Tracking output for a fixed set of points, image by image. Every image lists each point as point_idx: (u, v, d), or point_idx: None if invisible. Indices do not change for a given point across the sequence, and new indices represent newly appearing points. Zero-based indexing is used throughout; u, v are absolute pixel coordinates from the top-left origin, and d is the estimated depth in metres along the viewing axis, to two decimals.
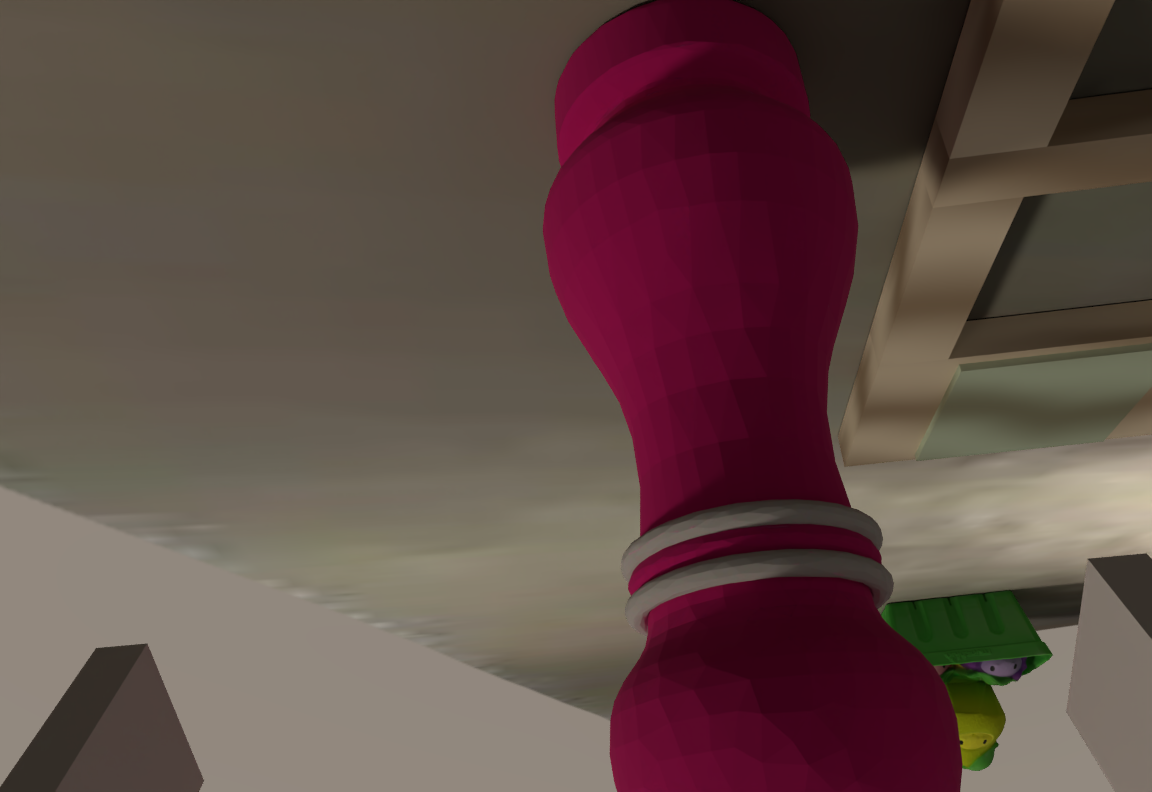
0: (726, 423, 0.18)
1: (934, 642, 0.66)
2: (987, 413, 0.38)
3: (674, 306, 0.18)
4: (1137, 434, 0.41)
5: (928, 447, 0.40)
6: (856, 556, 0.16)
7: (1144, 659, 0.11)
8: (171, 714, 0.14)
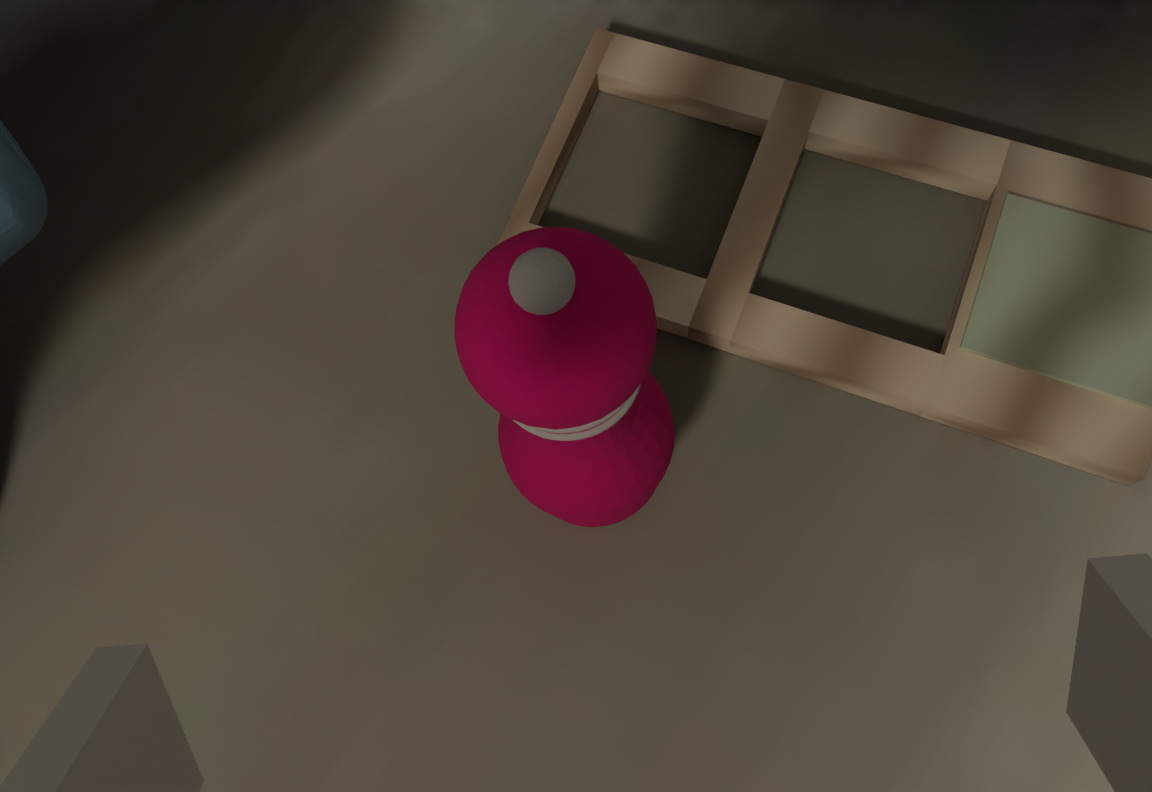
0: None
1: None
2: (1062, 334, 0.41)
3: None
4: None
5: (1120, 391, 0.40)
6: None
7: (1143, 659, 0.11)
8: (171, 714, 0.14)
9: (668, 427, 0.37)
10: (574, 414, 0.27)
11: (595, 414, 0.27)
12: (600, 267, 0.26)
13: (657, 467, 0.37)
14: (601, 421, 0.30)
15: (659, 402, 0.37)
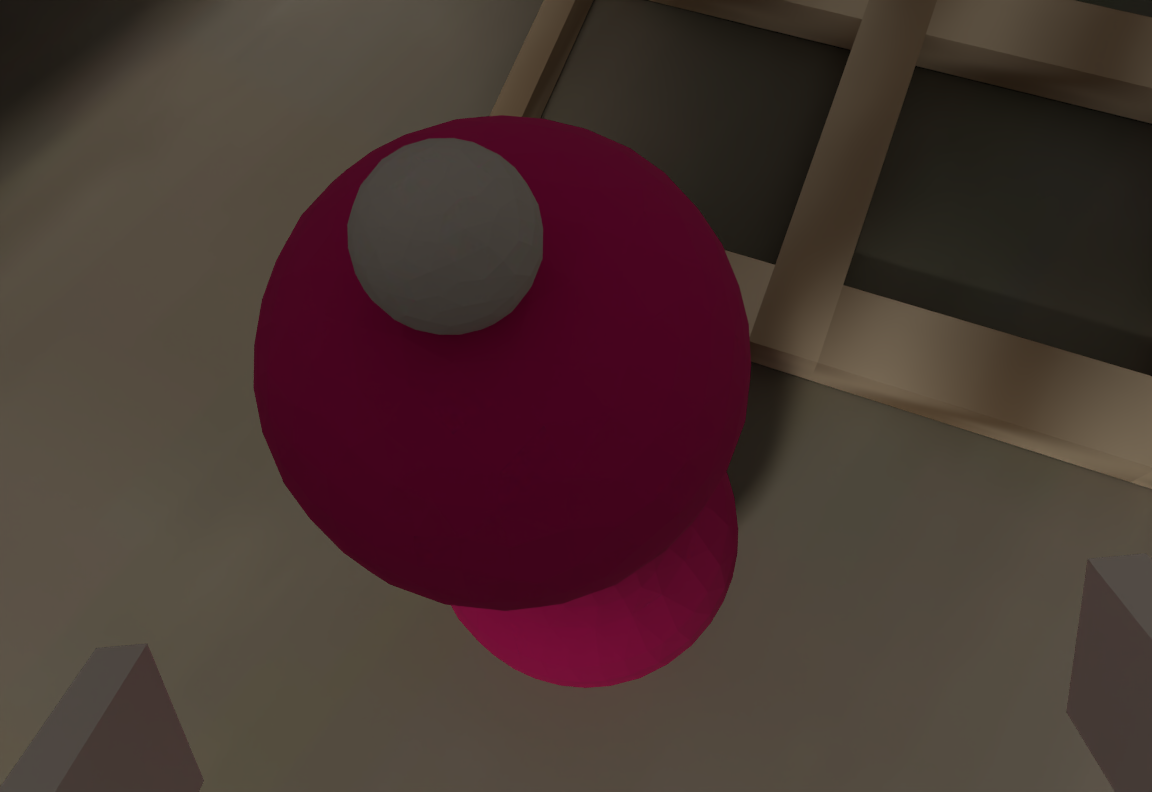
0: None
1: None
2: None
3: None
4: None
5: None
6: None
7: (1143, 659, 0.11)
8: (171, 714, 0.14)
9: (731, 523, 0.21)
10: (550, 589, 0.10)
11: (603, 583, 0.11)
12: (614, 205, 0.10)
13: (713, 596, 0.21)
14: None
15: None
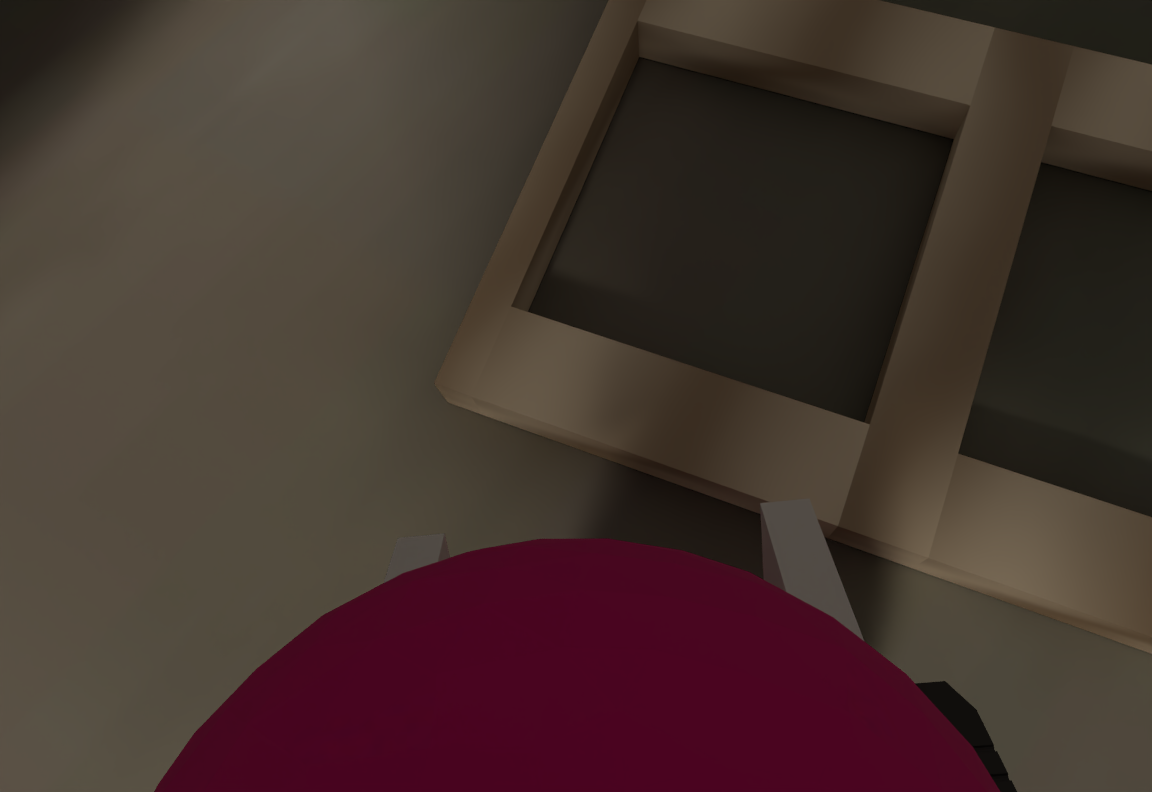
0: None
1: None
2: None
3: None
4: None
5: None
6: None
7: (778, 582, 0.13)
8: None
9: None
10: None
11: None
12: None
13: None
14: None
15: None
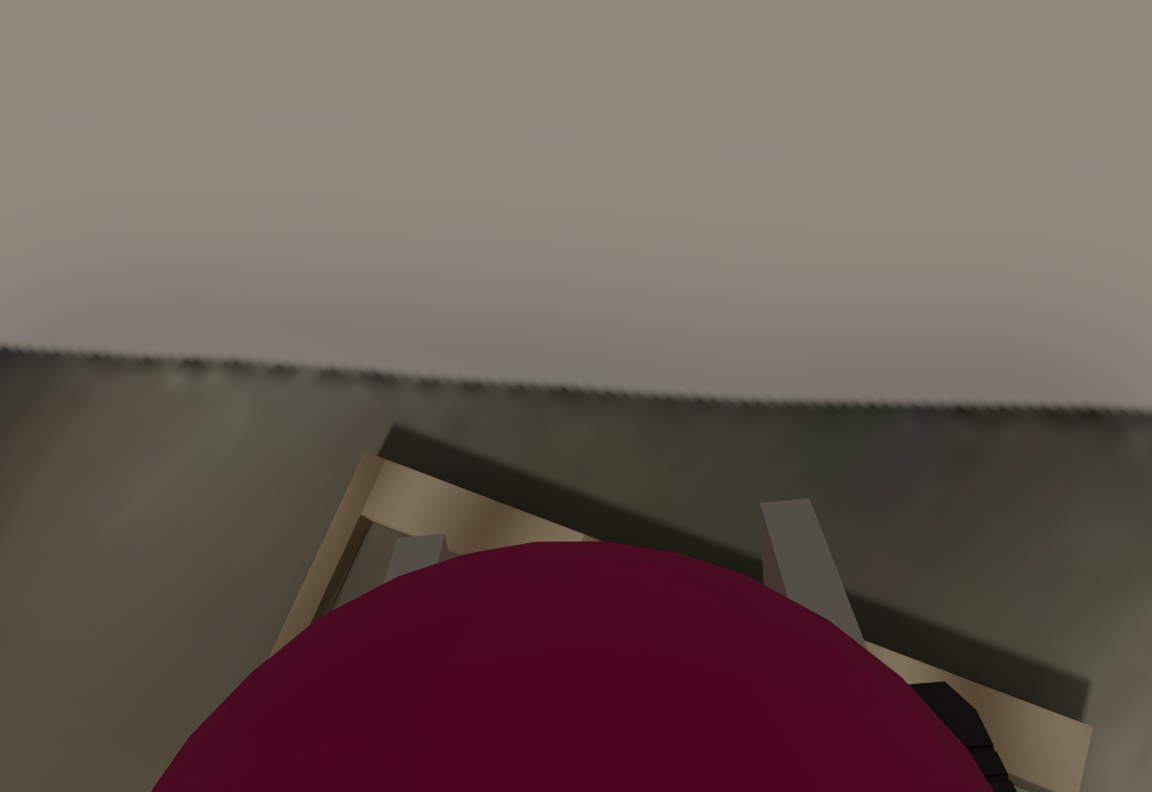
0: None
1: None
2: None
3: None
4: (1080, 761, 0.34)
5: None
6: None
7: (777, 582, 0.13)
8: None
9: None
10: None
11: None
12: None
13: None
14: None
15: None
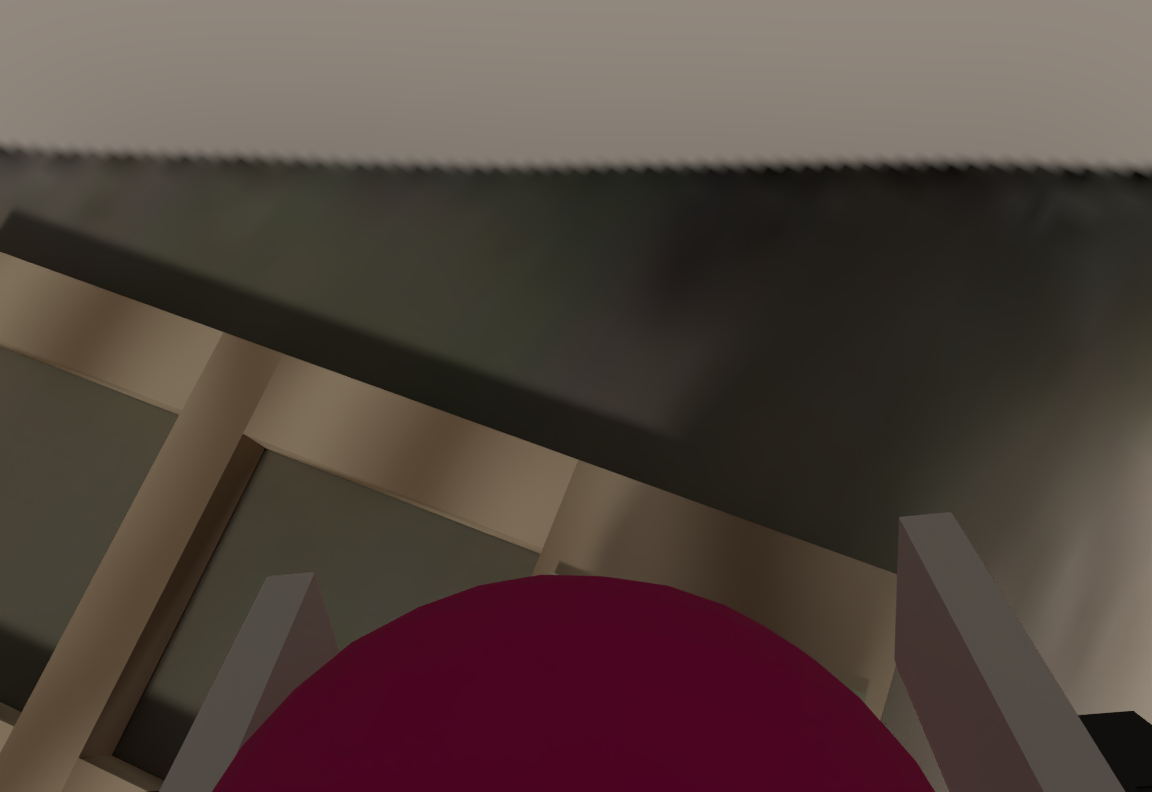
0: None
1: None
2: None
3: None
4: None
5: None
6: None
7: (930, 602, 0.13)
8: (332, 639, 0.15)
9: None
10: None
11: None
12: None
13: None
14: None
15: None
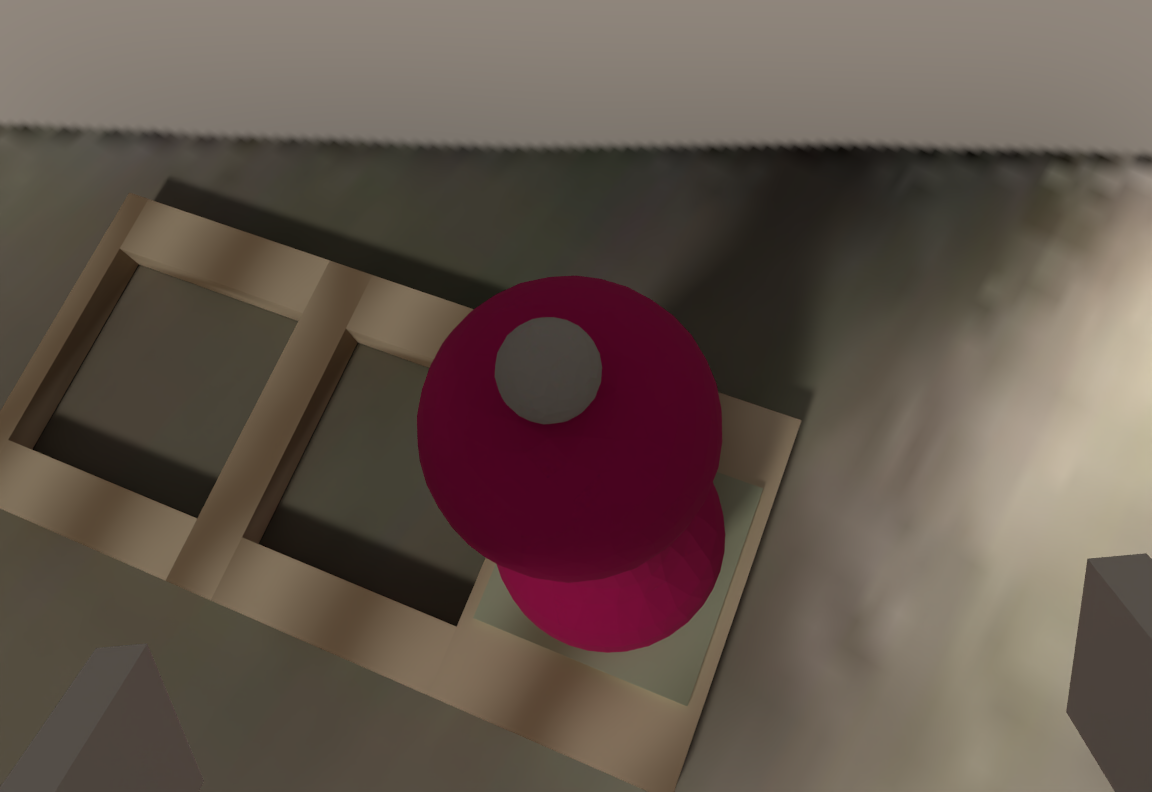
0: None
1: None
2: None
3: None
4: (785, 451, 0.34)
5: (652, 684, 0.32)
6: None
7: (1142, 658, 0.11)
8: (171, 714, 0.14)
9: (719, 530, 0.28)
10: (598, 568, 0.17)
11: (629, 566, 0.18)
12: (640, 344, 0.17)
13: (705, 585, 0.27)
14: None
15: (708, 499, 0.27)
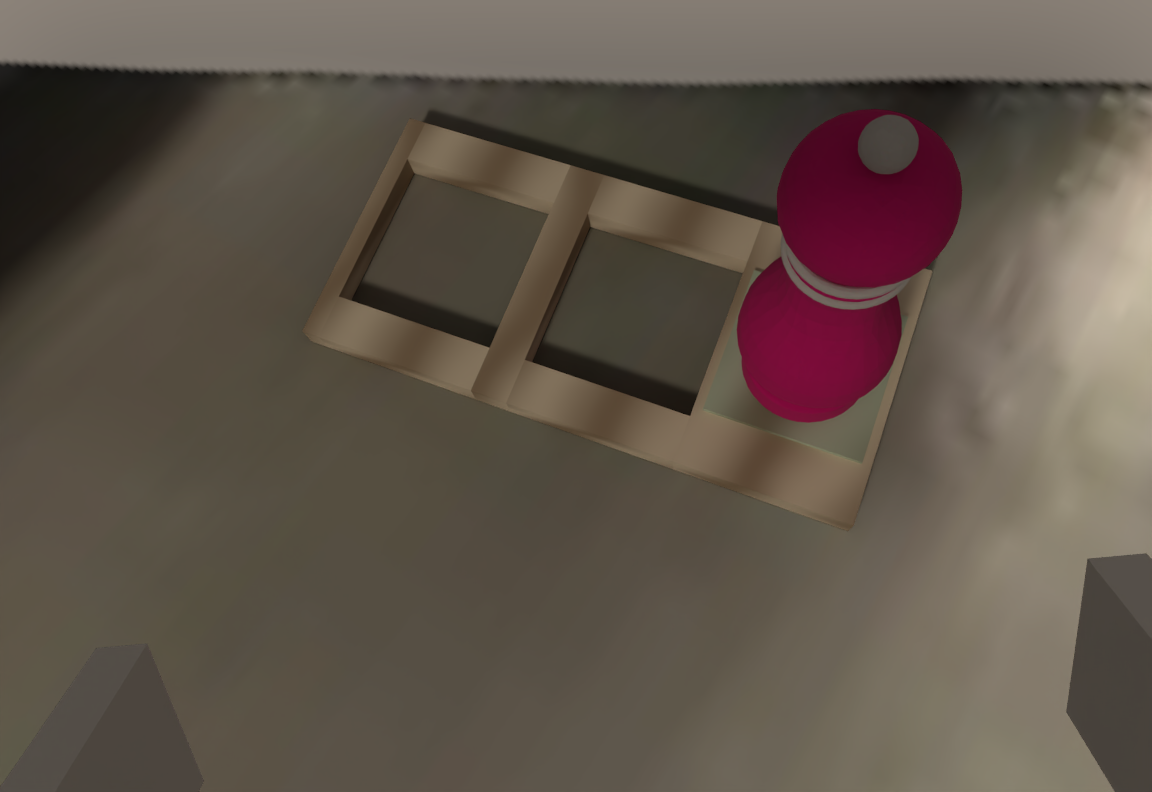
0: None
1: None
2: None
3: (769, 299, 0.40)
4: (922, 292, 0.48)
5: (836, 448, 0.45)
6: None
7: (1142, 659, 0.11)
8: (171, 714, 0.14)
9: (901, 319, 0.41)
10: (898, 267, 0.31)
11: (912, 270, 0.31)
12: (926, 138, 0.30)
13: (893, 354, 0.41)
14: (893, 288, 0.34)
15: (896, 296, 0.41)
